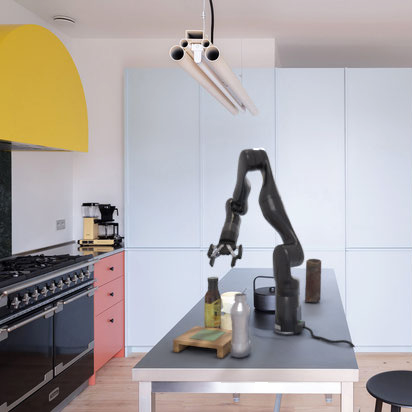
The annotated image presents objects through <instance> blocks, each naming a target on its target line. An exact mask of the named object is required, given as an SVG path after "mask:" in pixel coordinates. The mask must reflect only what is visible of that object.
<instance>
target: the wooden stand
mask: <svg viewBox="0 0 412 412" xmlns="http://www.w3.org/2000/svg"><path fill="white" fill-rule="evenodd" d="M231 338H232V329H228V328H227V329H225V328H220V329H218V328H208V327H205V326H198V325H195V326H193V327H192V328H190V329H188V330H187V331H185V332H184V333H182V334H181V335H179V336H176V337H175V338H174V339H172V350H173V353H180V352H181V351H183V350H185V349H186V348H187V347H189V346H191V347H199V348H209V349H215V350H216V357H217V358H219V359H220V358H221V359H223V358H225V357H226V356H227V355H228V354H230V344H231Z"/></svg>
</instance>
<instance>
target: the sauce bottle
mask: <svg viewBox="0 0 412 412" xmlns="http://www.w3.org/2000/svg"><path fill="white" fill-rule="evenodd" d="M203 305H204V306H203V307H204V309H203V311H204V312H203V314H204V315H203V316H204V317H203V318H204V319H203V324H204V325H203V326H204V327H208V328H218V329H221V326H222V297H221V293H220V290H219V276H208V277H207V291H206V292H205V294H204V304H203Z"/></svg>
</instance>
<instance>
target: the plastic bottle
mask: <svg viewBox="0 0 412 412" xmlns="http://www.w3.org/2000/svg"><path fill="white" fill-rule="evenodd" d="M247 299H248V297H247V294H246V293H244V292H239V293H234V299H233V301H234V303H233V304H232V307H231V308H230V313H229V314H230V321H231V330H232V338H231V344H230V352H229V354H230V355H231V356H232V357H234V358H245V357H248V356H249V354H250V353H251V351H252V346H251V340H250V339H251V338H250V321H251V315H252V309H251V307H250V305H249V304H248V303H247Z"/></svg>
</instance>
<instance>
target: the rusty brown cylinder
mask: <svg viewBox="0 0 412 412" xmlns="http://www.w3.org/2000/svg"><path fill="white" fill-rule="evenodd" d="M305 262H306V263H305V287H304V289H305V290H304V301H305V302H306V303H318V302H320V301H321V297H322V296H321V295H322V293H321V292H322V260H321V259H318V258H308V259H306V261H305Z"/></svg>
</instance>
